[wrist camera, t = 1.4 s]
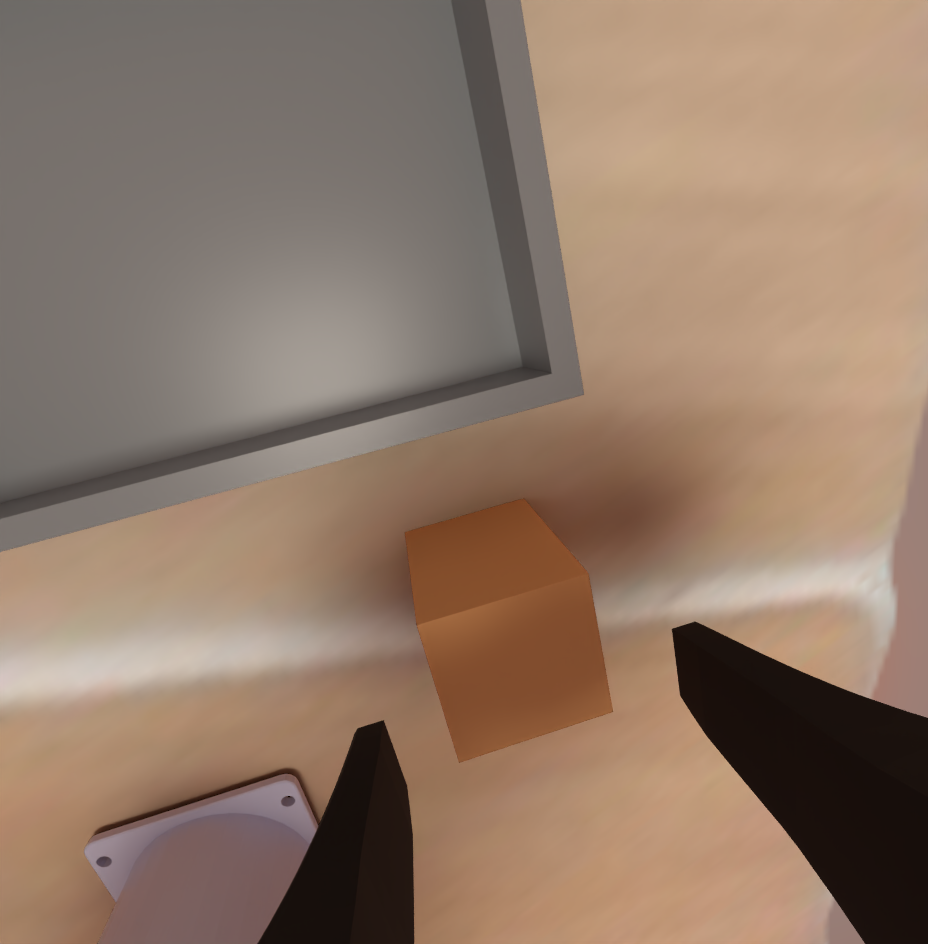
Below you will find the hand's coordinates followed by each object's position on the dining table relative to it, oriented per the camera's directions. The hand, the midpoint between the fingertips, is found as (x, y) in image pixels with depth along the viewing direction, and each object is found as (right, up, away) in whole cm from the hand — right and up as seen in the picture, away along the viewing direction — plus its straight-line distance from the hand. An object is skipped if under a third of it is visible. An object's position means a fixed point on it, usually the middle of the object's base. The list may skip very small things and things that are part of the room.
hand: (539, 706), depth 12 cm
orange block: (-1, +2, +7) cm, 7 cm away
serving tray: (-10, +12, +2) cm, 16 cm away
